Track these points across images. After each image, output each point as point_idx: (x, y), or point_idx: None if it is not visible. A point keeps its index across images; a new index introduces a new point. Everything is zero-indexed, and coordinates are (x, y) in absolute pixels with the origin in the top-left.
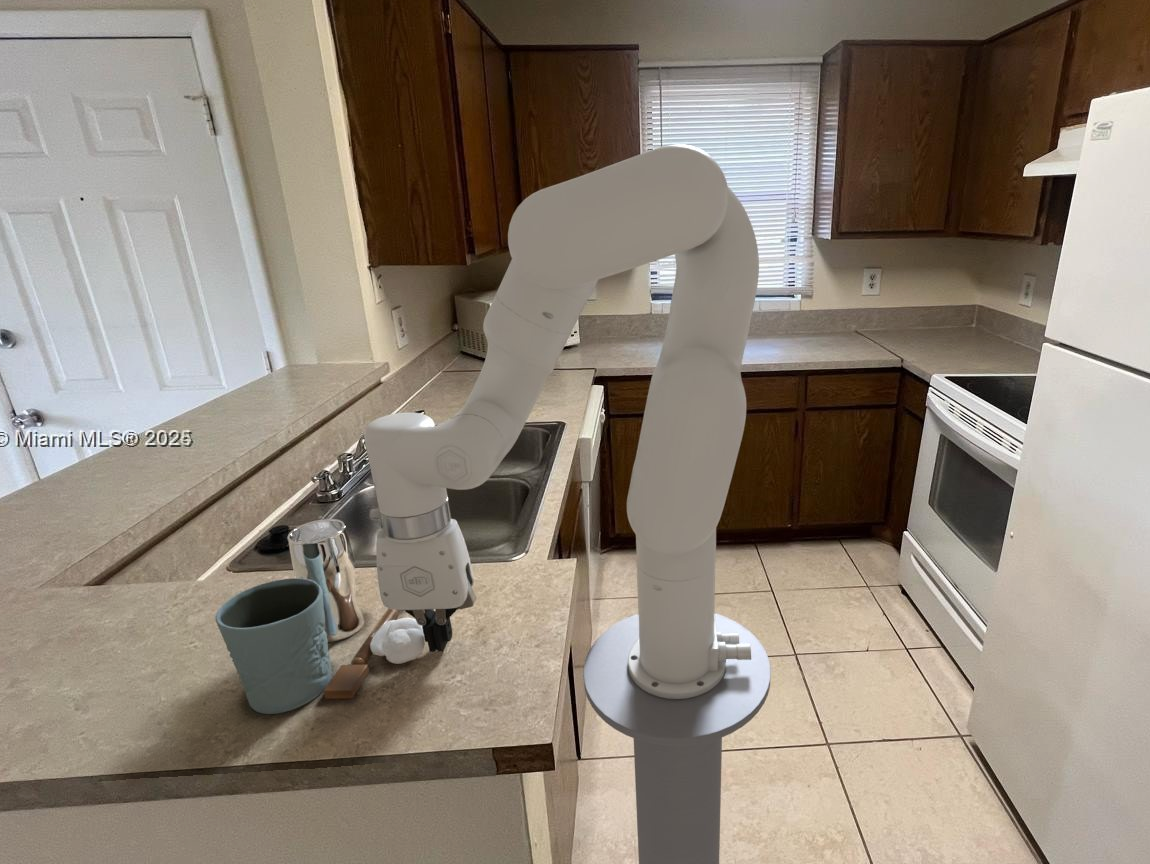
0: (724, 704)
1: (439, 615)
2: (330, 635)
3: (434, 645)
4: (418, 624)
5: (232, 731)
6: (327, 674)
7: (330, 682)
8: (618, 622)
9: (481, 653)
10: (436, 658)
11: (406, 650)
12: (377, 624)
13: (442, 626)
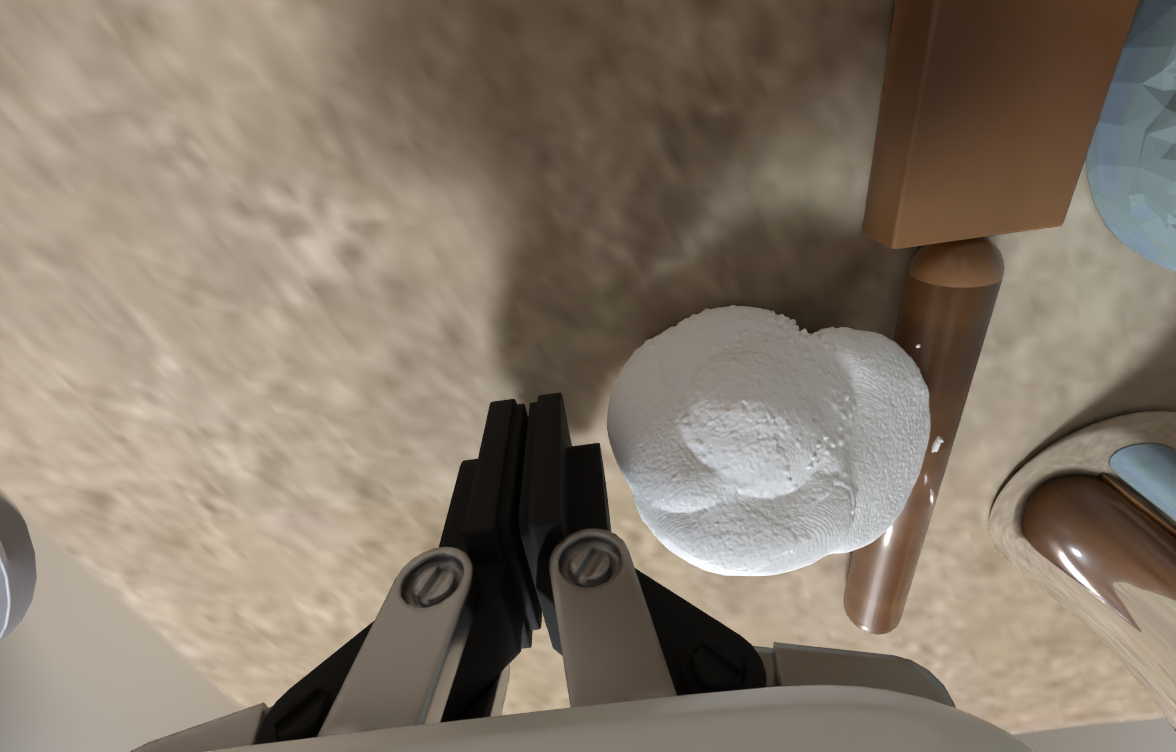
0: None
1: (419, 632)
2: (1159, 438)
3: (528, 422)
4: (615, 534)
5: None
6: (1159, 104)
7: (1117, 36)
8: (2, 629)
9: (327, 428)
10: (534, 373)
11: (685, 372)
12: (927, 523)
13: (463, 540)
